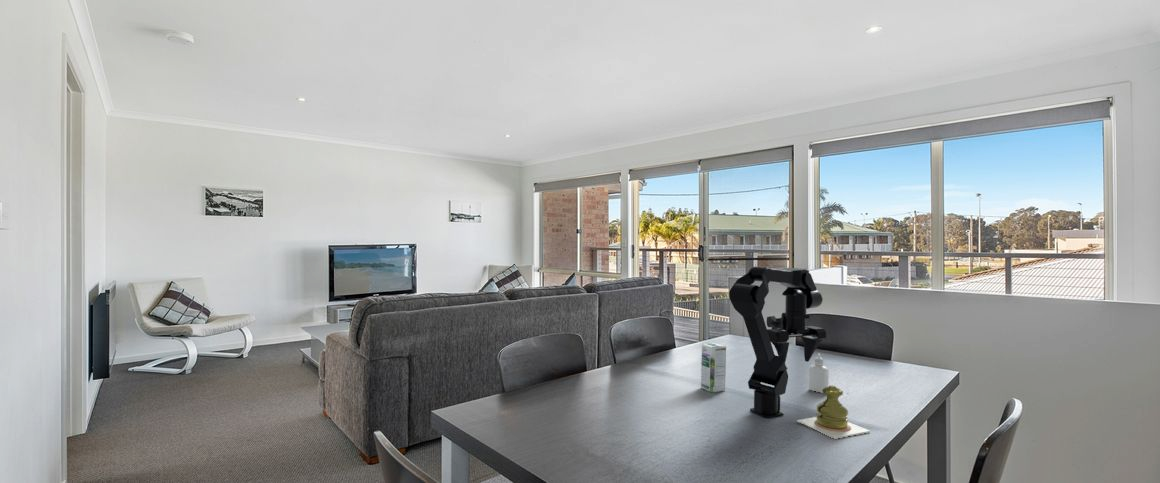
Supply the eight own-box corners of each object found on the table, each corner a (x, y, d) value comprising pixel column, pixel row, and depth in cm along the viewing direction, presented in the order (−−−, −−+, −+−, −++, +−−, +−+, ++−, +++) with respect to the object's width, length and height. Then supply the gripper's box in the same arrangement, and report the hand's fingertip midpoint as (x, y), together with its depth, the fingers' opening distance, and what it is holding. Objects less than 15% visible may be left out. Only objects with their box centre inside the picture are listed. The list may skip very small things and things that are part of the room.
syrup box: (700, 387, 161) (700, 343, 161) (714, 385, 164) (715, 342, 163) (711, 393, 156) (712, 347, 156) (726, 390, 158) (726, 345, 158)
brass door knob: (836, 418, 133) (837, 381, 133) (854, 429, 126) (855, 390, 126) (810, 419, 133) (811, 382, 132) (826, 430, 125) (827, 391, 125)
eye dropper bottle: (819, 388, 162) (819, 351, 162) (830, 393, 157) (830, 355, 156) (806, 388, 161) (807, 352, 161) (817, 394, 156) (818, 356, 156)
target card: (834, 439, 121) (834, 437, 121) (796, 422, 132) (796, 419, 132) (869, 432, 126) (869, 430, 126) (830, 416, 137) (830, 414, 137)
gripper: (799, 305, 158) (798, 353, 158) (751, 307, 151) (751, 358, 152) (827, 310, 148) (827, 362, 148) (778, 313, 141) (777, 368, 141)
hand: (794, 362), depth 147 cm, fingers open, 9 cm apart
